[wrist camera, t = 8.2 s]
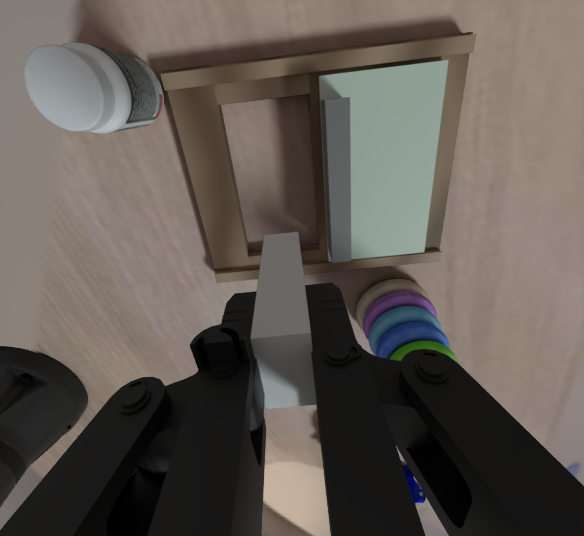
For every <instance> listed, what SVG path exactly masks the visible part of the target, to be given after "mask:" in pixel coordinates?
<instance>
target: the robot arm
mask: <svg viewBox="0 0 584 536" xmlns="http://www.w3.org/2000/svg"><path fill="white" fill-rule="evenodd" d="M190 348H191V350H192V353H193V356H194V359H195V361H196V364H197V367H198V369H199V370H198V372H197V373H196V374H194V375H193V376H191V377H188V378H186V379H184V380H181V381H178V382H175V383H173V384H170V385H167V386H165V385H164V384H163V383H162V381H161V380H160V379H157V378H154V377H142V378H139V379H136V380H134V381H131V382H129V383H128V384H126V385H124V386H123V387H121V388H120V389H119V390H118V391H117V392H116V393H115V394H114V395H113V396H112V397H111V398H110V399H109V400H108V401H107V403H106V404H105V405H104V406H103V407H102V409H101V410H100V411H99V412H98V413H97V415H96V416H95V417H94V418H93V419H92V421H91V422H90V423H89V424H88V425H87V427H86V428H85V429H84V430H83V431H82V433H81V434H80V435H79V436H78V437H77V439H76V440H75V441H74V442H73V443H72V445H71V446H70V447H69V448H68V449H67V451H66V452H65V453H64V454H63V455H62V457H61V458H60V459H59V460H58V461H57V463H56V464H55V465H54V466H53V467H52V469H51V470H50V471H49V472H48V473H47V475H46V476H45V477H44V478H43V479H42V481H41V482H40V483H39V484H38V485H37V487H36V488H35V489H34V490H33V491H32V493H31V494H30V495H29V496H28V497H27V499H26V500H25V501H24V502H23V503H22V505H21V506H20V507H19V508H18V510H17V511H16V512H15V513H14V514H13V515H12V517H11V518H10V519H9V520H8V521H7V523H6V524H5V525H4V526H3V528H2V529H1V530H0V536H261V531H262V509H263V487H264V465H265V443H266V424H265V419H264V400H265V405H266V409H274V408H285V407H295V406H306V405H317V414H318V424H319V434H320V442H321V451H322V460H323V469H324V478H325V487H326V496H327V505H328V514H329V523H330V532H331V536H425V533H424V530H423V527H422V524H421V521H420V518H419V515H418V512H417V509H416V506H415V503H414V500H413V497H412V494H411V490H410V487H409V484H408V481H407V478H406V475H405V472H404V469H403V466H402V463H401V460H400V457H399V454H398V451H397V448H398V450H399V451H400V453H401V455H402V456H403V458H404V460H405V462H406V463H407V465H408V467H409V468H410V470H411V472H412V474H413V475H414V477H415V479H416V480H417V482H418V484H419V485H420V487H421V489H422V491H423V492H424V494H425V496H426V497H427V499H428V501H429V503H430V504H431V506H432V508H433V509H434V511H435V513H436V514H437V516H438V518H439V520H440V521H441V523H442V525H443V526H444V528H445V530H446V532H447V533H448V535H449V536H584V486H583V485H582V484H581V483H580V482H579V481H578V480H577V479H576V478H575V477H574V476H573V475H572V474H571V473H570V472H569V471H568V470H567V469H566V468H565V467H564V466H562V464H561V463H560V462H559V461H557V460H556V458H554V457H553V456H552V455H551V454H550V453H549V452H548V451H547V450H546V449H545V448H544V447H543V446H542V445H541V444H540V443H539V442H538V441H537V440H536V439H535V438H534V437H533V436H532V435H531V434H530V433H529V432H528V431H527V430H526V429H525V428H524V427H523V426H522V425H521V424H520V423H519V422H518V421H517V420H516V419H515V418H513V417H512V416H511V415H510V414H509V413H508V412H507V411H506V410H505V409H504V408H503V407H502V406H501V405H500V404H499V403H498V402H497V401H496V400H495V399H494V398H493V397H492V396H491V395H490V394H489V393H488V392H487V391H486V390H485V389H484V388H483V387H482V386H481V385H480V384H479V383H478V382H477V381H476V380H475V379H473V378H472V377H471V376H470V375H469V374H468V373H467V372H466V371H465V370H464V369H463V368H462V367H461V366H460V365H459V364H458V363H457V362H456V361H455V360H453V359H452V358H450V357H449V356H448V355H446V354H443V353H441V352H438V351H436V350H430V349H417V350H412V351H410V352H409V353H407V354H405V355H404V357H403V358H402V360H401V361H398V360H391V359H385V358H381V357H377V356H374V355H372V354H370V353H368V352H367V351H365V350H364V349H363V348H362V347H361V346H360V345H359V344H358V342H357V340H356V338H355V335H354V332H353V329H352V325H351V322H350V319H349V316H348V313H347V309H346V306H345V303H344V301H343V297H342V293H341V290H340V289H339V288H338V287H337V286H335V285H334V284H333V283H323V284H313V285H305V282H304V274H303V266H302V258H301V250H300V242H299V234H298V232H289V233H280V234H271V235H264V241H263V248H262V256H261V263H260V271H259V278H258V286H257V291H256V292H246V293H236V294H234V295H233V296H232V297H231V299H230V300H229V301H228V302H227V304H226V307H225V311H224V315H223V318H222V323H221V325H216V326H212V327H210V328H208V329H206V330H203V331H202V332H201V333H199V334H198V335H197V336H196V337H194V339H193V341H192V342H191V344H190ZM87 404H88V396H87V392H86V390H85V388H84V386H83V384H82V383H81V382H80V380H79V379H78V378H77V377H76V376H75V375H74V374H73V373H72V372H71V371H69V370H68V369H67V368H66V367H64V366H63V365H61V364H59V363H58V362H56V361H54V360H52V359H50V358H48V357H46V356H44V355H41V354H39V353H36V352H33V351H29V350H25V349H21V348H15V347H6V346H0V507H1V506H2V504H3V503H4V501H5V500H6V498H7V497H8V495H9V494H10V493H11V491H12V490H13V488H14V487H15V485H16V484H17V483H18V481H19V480H20V478H21V477H22V475H23V474H24V473H25V471H26V470H27V469H28V468H29V466H30V465H31V464H32V463H33V462H34V461H36V460H37V459H38V458H39V457H40V456H41V455H42V454H44V453H45V452H46V451H47V450H48V449H49V448H50V447H51V446H52V445H54V444H55V443H56V442H57V441H58V440H59V439H60V438H61V437H62V436H63V435H64V434H66V433H67V432H68V431H70V430H71V429H72V428H73V427H74V426H75V424H76V423H77V422H78V420H79V419H80V417H81V416H82V414H83V412H84V411H85V409H86V407H87ZM396 446H397V448H396Z"/></svg>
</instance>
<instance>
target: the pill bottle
mask: <svg viewBox="0 0 584 536" xmlns="http://www.w3.org/2000/svg"><path fill="white" fill-rule="evenodd" d="M24 81H25V85H26V89H27V92H28V94H29V96H30V98H31V100H32V102H33V103H34V104H35V106H36V107H37V109H38V110H39V111H40V112H41V113H42V114H43V115H44V116H45V117H46V118H47V119H48V120H50V121H51V122H52V123H54V124H55V125H57V126H59V127H61V128H64V129H67V130H71V131H89V132H93V133H112V132H116V131H121V130H126V129H131V128H137V127H144V126H147V125H149V124H152V123H153V122H154V121H156V120H157V119H158V117H159V116H160V114H161V112H162V109H163V105H164V95H163V90H162V87H161V84H160V82H159V80H158V78H157V76H156V74H155V73H154V72H153V70H152V69H151V68H150V67H149V66H148V65H147V64H145V63H144V62H143V61H141V60H139V59H137V58H135V57H133V56H130V55H126V54H122V53H118V52H115V51H111V50H107V49H103V48H100V47H96V46H93V45H90V44H85V43H67V44H64V45H61V46H57V45H44V46H41V47H39V48H36V49H35V50H33V51H32V52H31V54H30V55H29V56H28V58H27V60H26V62H25V66H24Z"/></svg>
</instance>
